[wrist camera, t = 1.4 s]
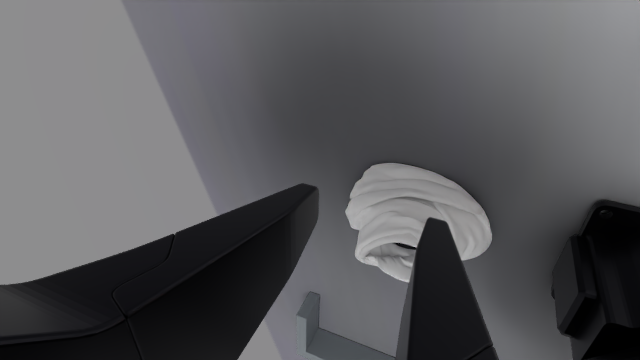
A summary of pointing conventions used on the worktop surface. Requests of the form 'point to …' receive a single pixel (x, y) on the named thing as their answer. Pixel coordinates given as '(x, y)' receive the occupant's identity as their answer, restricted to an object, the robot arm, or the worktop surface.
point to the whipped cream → (411, 216)
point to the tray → (327, 338)
